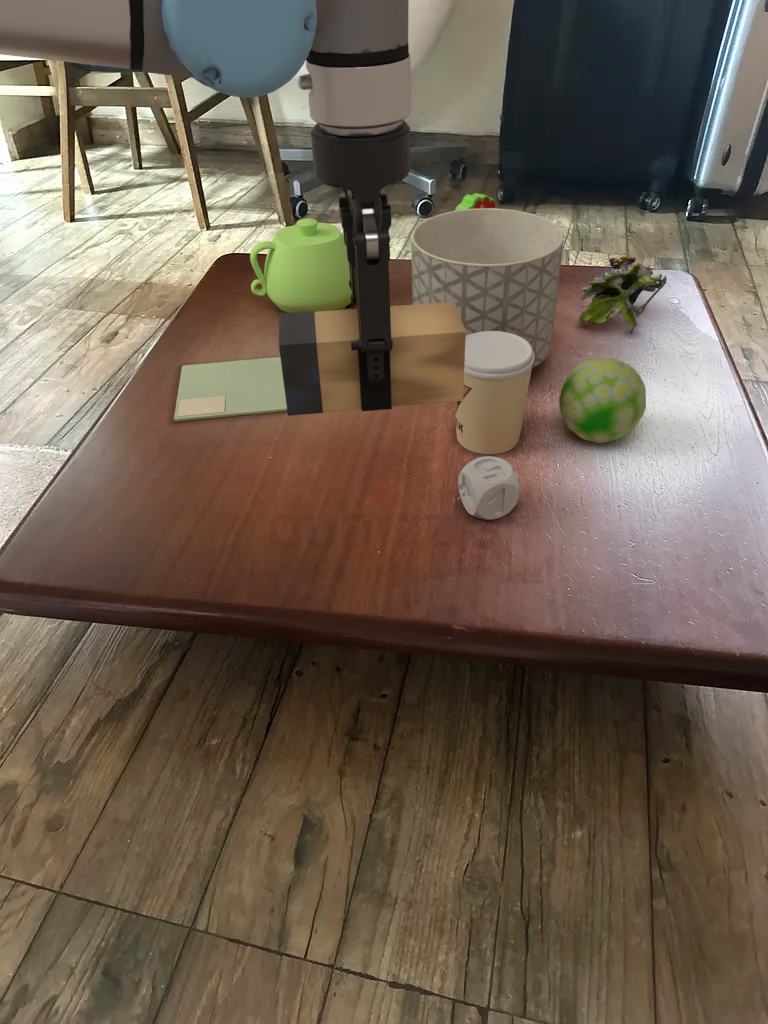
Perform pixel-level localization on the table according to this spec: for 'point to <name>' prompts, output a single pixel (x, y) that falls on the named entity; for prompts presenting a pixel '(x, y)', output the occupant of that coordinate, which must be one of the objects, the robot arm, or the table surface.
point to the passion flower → (620, 292)
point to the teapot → (304, 268)
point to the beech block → (335, 367)
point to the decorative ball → (602, 399)
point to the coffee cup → (493, 391)
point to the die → (488, 487)
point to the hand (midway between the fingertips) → (372, 388)
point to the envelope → (230, 389)
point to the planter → (491, 271)
